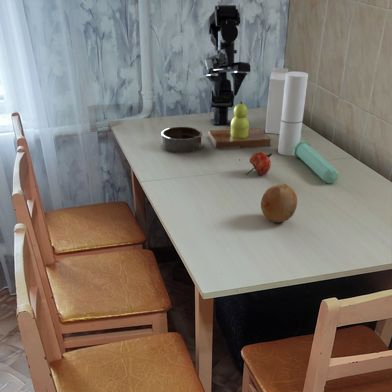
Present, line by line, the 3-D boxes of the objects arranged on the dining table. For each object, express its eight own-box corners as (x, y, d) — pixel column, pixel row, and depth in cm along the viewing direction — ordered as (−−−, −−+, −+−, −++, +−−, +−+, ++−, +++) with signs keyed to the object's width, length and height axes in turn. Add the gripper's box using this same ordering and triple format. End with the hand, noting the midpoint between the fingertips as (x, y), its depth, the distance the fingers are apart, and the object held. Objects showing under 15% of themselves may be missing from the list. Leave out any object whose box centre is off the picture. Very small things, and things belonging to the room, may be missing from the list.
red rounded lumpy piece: (252, 186, 172) (279, 167, 169) (239, 167, 169) (266, 147, 166) (251, 179, 178) (277, 161, 175) (239, 161, 176) (265, 142, 172)
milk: (268, 128, 211) (273, 65, 197) (283, 129, 210) (289, 66, 196) (265, 133, 206) (270, 69, 193) (280, 134, 205) (287, 70, 191)
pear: (226, 135, 196) (228, 101, 189) (237, 131, 200) (238, 97, 193) (241, 139, 193) (243, 105, 186) (252, 134, 197) (254, 101, 190)
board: (208, 137, 202) (208, 130, 200) (260, 134, 205) (260, 127, 203) (215, 149, 192) (215, 142, 190) (270, 146, 195) (270, 139, 193)
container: (339, 165, 164) (307, 137, 182) (321, 174, 164) (291, 145, 183) (343, 181, 168) (311, 153, 186) (325, 190, 168) (295, 160, 187)
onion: (271, 209, 154) (275, 174, 147) (302, 219, 149) (306, 184, 143) (252, 220, 148) (254, 185, 142) (283, 231, 143) (287, 195, 137)
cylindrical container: (297, 149, 193) (307, 71, 177) (298, 156, 187) (308, 77, 171) (277, 148, 193) (285, 71, 177) (278, 155, 188) (286, 76, 172)
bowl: (159, 141, 198) (158, 127, 194) (197, 139, 200) (197, 125, 197) (165, 155, 187) (164, 140, 184) (205, 153, 189) (205, 138, 186)
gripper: (191, 48, 191) (191, 96, 196) (229, 41, 178) (228, 94, 184) (214, 50, 198) (214, 97, 203) (252, 44, 185) (250, 95, 191)
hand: (225, 96), depth 195 cm, fingers open, 9 cm apart
